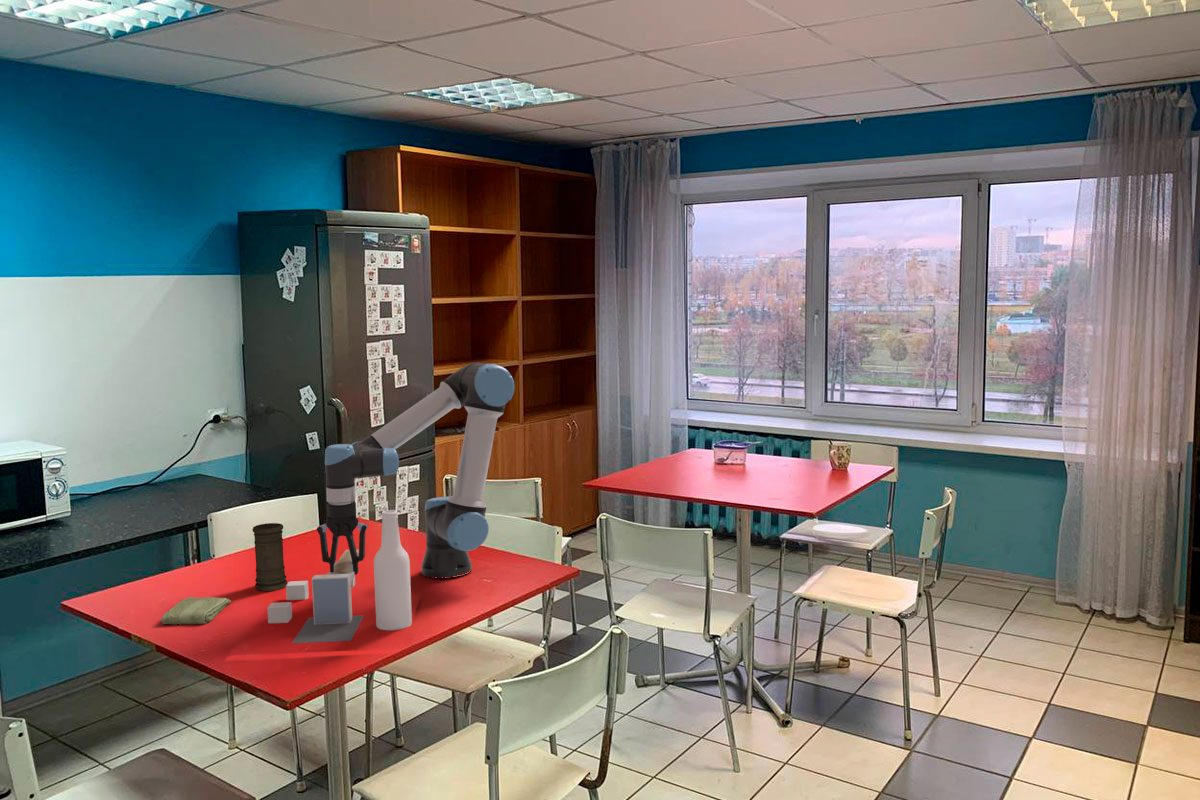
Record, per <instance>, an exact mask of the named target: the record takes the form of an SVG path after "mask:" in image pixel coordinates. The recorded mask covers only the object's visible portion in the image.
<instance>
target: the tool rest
mask: <svg viewBox="0 0 1200 800" xmlns="http://www.w3.org/2000/svg"><path fill="white" fill-rule="evenodd" d="M285 591H286V592H285V593H286V597H285V598H286V601H287V602H271V603H270V604H269V605H268V607H267V623H268V624H283V623H284V624H288V623H289V622H290V621H291V620H292V619H293V606H292V602H291V601H295V600H296V601H298V600H299V601H300V600H301V601H302V600H308V598H310V597H309V596H310V595H309V580H298V581H297V580H296V581H295V580H294V581H288V582H287V585H286V586H285ZM289 601H290V602H289Z"/></svg>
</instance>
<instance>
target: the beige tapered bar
mask: <svg viewBox="0 0 1200 800" xmlns="http://www.w3.org/2000/svg"><path fill="white" fill-rule="evenodd" d="M356 551H357V555H358V556H359V548H358V549H357V548H356ZM351 561H352V559H351V554H350V550H349V549H345V551H344V552H343V553H342V555H340V557H339V559H338V560H336V562H337V563H336V564H335V565H334V571H335V572H330V571H329V572H327V573H326V574H325V575H329V574H350V578H351V581H352V579H353V578H354V576H355V572H350V563H351ZM355 577H356V576H355Z"/></svg>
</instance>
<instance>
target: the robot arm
mask: <svg viewBox="0 0 1200 800" xmlns="http://www.w3.org/2000/svg"><path fill="white" fill-rule="evenodd" d="M514 393H515V381H514V378H513V376H512V374H511V373H510V372H509V370H507V368H505V367H503V366H502V365H501V366H500V365H498V364H495V363H485V362H484V363H483V362H471V363H468V364H466V365H464V366H462V367H460V368H459V369H458V370H456V371H455V372H454V373H452V374H451V375H449V376H448V377H446V378H445V379H443V380H442V381H441V382H440V384H439V387H438V388H437V389H435V390H433V391H432V392H431V393H429V394H428V395H427V396H425V397H424V398H422V399H421V400H420V401H418V402H417V403H415V404H414V405H412V406H411V407H409V408H408V409H407V410H404V412H402V413H401V414H399V415H398V416H396V417H395V418H393V419H392V420H391V421H389V422H388V423H386V424H385V425H384V426H382V427H381V428H379V429H378V430H376V431H375V432H373V433H372V434H371V435H369V436H366V438H364V439H363V440H361V441H355V442H353V443H351V444H350V443H344V444H343V443H338V444H332V445H331V444H330V445H329V446H327V447H326V448H325V449H324V450H325V451H324V466H325V467H324V468H325V471H324V472H325V485H326V486H325V491H326V493H325V494H326V502H327V504H326V510H327V511H326V512H327V513H326V515H327V516H326V517H327V519H326V522H325V523H324V524H320V525H318V526H317V528H316V531H317V533H318V535H319V540H320V541H319V542H320V549H321V550H320V551H321V560H322V562H323V563H327V564H329V572H335V571H334V565H335V564H336V563H337V552H338V546H339V539H340V537H341V536H342V537H345V538H346V541H347V545H348V550H350V554H351V559H352V561H351V563H350V572H355V575H358V574H359V562H362V561H364V559H365V558H366V557H365V556H366V532H367V530H368V527H369V525H368V523H362V522H360V521H359V519H358V517H357V504H356V479H362V478H363V479H364V478H374V477H375V478H376V477H387V476H390V475H391V476H392V475H395V474H397V473H398V470H399V467H400V459H399V458H400V457H399V454H398V452H397V449H398V448H400V447H401V446H403V444H405V443H407V442H408V441H410V440H411V439H412V438H414V437H415V436H417V435H418V434H420V433H421V432H423V431H424V430H426V428H428V427H430V426H431V425H432V424H433V423H435V422H437V421H438V420H440V418H442V417H444V416H445V415H448V413H450V412H451V411H452V410H454V409H458V410H459V409H461V408H462V407H464V409H465V411H466V412H467V418H466V423H465V429H464V434H463V440H462V446H461V451H460V456H459V462H458V469H457V472H456V473H457V474H456V478H455V479H456V480H455V484H454V490H453V494H452V495H451V496H440V497H433V498H429V499H427V500H426V501H425V502H424V503H425V505H424V517H425V518H424V520H425V522H424V523H425V545H426V547H425V548H426V550H425V551H424V556H423V559H422V563H421V569H420V571H421V575H422V574H423V575H425V576H428V577H427V578H429V577H434V578H433V579H435V577H437V578H442V577H443V578H445V577H453V576H457V575H462V574H465V573H467V572H469V571H470V570H471V569H472V567H473V566H472V560H471V558H470V555H469V552H470V551H471V552H472V551H475V550H476V549H478V548H479V547H480V546H482V545H484V543H485V542H486V540H487V538H488V536H489V522H488V521H487V519H486V512H487V507H488V506H487V504H486V502H485V500H484V493H485V488H486V484H487V483H486V482H487V477H488V472H489V466H490V460H491V456H492V451H493V444H494V439H495V433H496V427H497V422H498V418H500V417H502V416H503V415H504V412H505V408H506V404H507V403H509V401H511V400H512V398H513V396H514ZM356 528H358V532H359V535H358V538H359V539H358V540H359V541H358V549H359V556H358V555H357V551H356V550H357V547H356V544H355V538H354V531H355V529H356ZM327 530H329V531H330V532H331V534H332V538H331V541H332V542H331V546H330V547H331V548H330V553H329V547H328V537H327ZM472 570H473V569H472ZM423 575H422V576H423ZM425 576H424V577H425ZM355 585H356V576H354V578H353V579H352V581H351V589H352V588H354V587H355Z"/></svg>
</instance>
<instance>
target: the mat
mask: <svg viewBox="0 0 1200 800" xmlns="http://www.w3.org/2000/svg"><path fill="white" fill-rule="evenodd" d="M364 616H365V615H352V621H351V623H342V624H318V625H314V617H308V618H307V620H306V622H304V624H303V626H302V627H301V629H300V630H299V632H298V633H297V634H296V636H295V638H294V639H293V641H292V642H291V644H305V643H306V644H310V643H332V642H333V643H334V642H351V641H352V640H353V638H354V636H355V634H356V632H357V630H358V628H359V626H360V624H361V622H362V621H363V618H364Z"/></svg>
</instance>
